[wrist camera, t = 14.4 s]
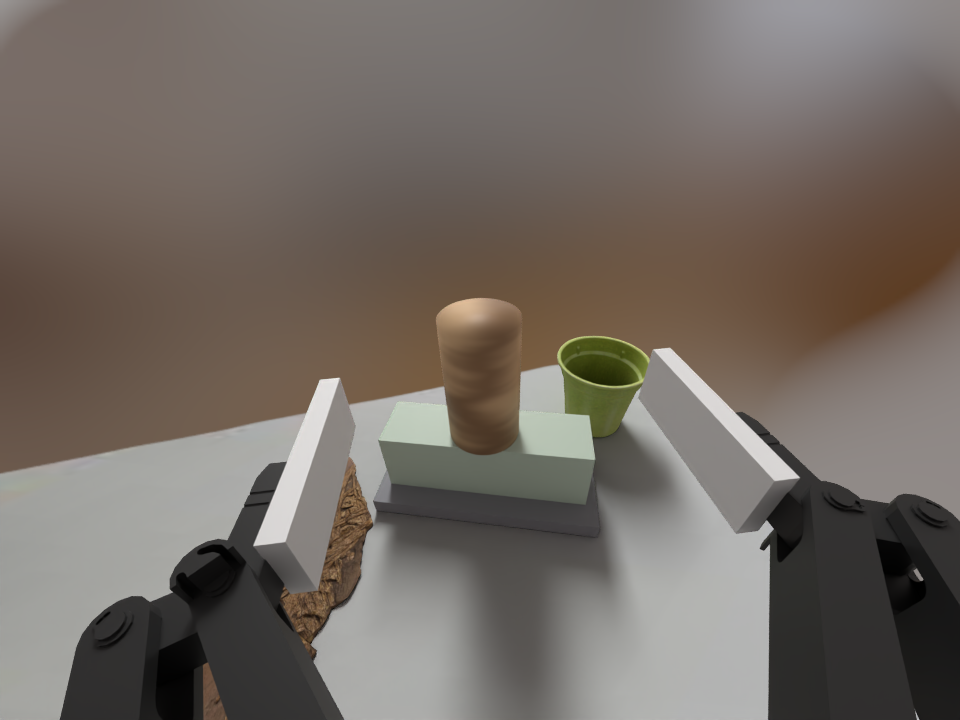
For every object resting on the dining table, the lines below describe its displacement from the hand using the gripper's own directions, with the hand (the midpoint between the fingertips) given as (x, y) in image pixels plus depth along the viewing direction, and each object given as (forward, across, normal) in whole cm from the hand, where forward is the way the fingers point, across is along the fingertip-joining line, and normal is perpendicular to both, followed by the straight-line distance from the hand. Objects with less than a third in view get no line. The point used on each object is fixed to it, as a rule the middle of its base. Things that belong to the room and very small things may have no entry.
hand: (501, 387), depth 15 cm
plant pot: (+17, +14, -21) cm, 30 cm away
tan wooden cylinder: (+10, 0, -13) cm, 17 cm away
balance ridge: (+10, 0, -21) cm, 23 cm away
